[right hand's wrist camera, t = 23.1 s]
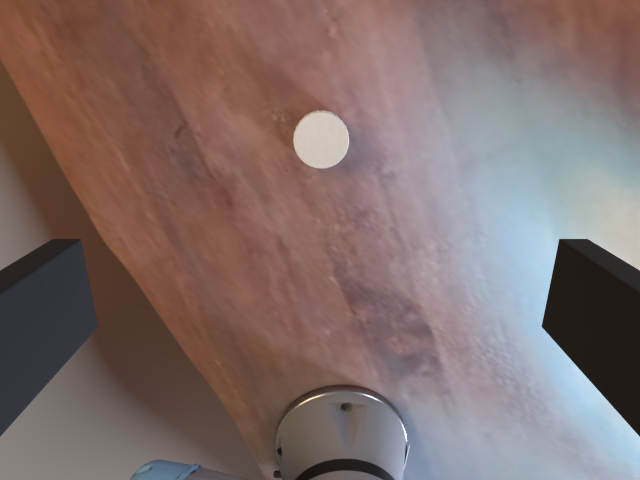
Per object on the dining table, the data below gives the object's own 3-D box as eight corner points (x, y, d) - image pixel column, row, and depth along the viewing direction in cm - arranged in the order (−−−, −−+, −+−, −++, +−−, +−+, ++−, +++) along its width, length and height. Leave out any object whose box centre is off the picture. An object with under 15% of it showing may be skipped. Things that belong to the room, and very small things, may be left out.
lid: (336, 100, 39) (337, 102, 37) (355, 152, 41) (357, 157, 38) (285, 121, 40) (283, 124, 37) (306, 172, 41) (305, 177, 39)
